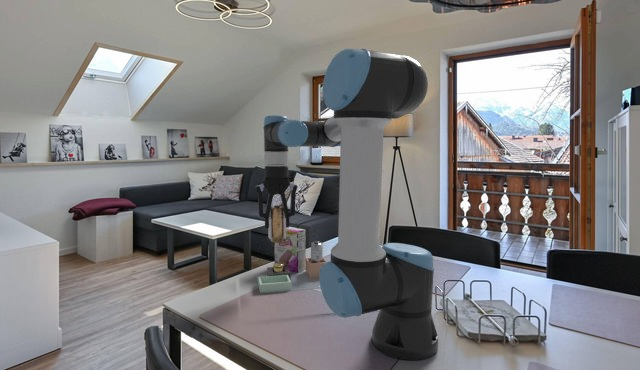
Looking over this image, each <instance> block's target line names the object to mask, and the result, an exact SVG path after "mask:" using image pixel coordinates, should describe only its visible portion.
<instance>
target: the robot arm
mask: <svg viewBox="0 0 640 370" xmlns="http://www.w3.org/2000/svg"><path fill="white" fill-rule="evenodd" d="M428 80H429V79H428V76H427V73H426V71H425V70H424V68H423V66H422V65H421V64H420V63H419V62H418V61H417V60H416V59H414V58H412V57H410V56H408V55H402V54H393V53H388V52H381V51H376V50H375V51H374V50H369V49H366V48H346V49H342V50H340V51H339V52H338V53H336V55H334V57H332V59H331V60H330V63H329V64H328V65H327V67H326V71H325V74H324V78H323V81H322V98H323V100H324V104H325V106H326V107H327V108H328V109H329V110H331V111H333V115H332V116H330V117H329V118H327V119H325V120H324V121H313V120H311V121H309V120H299V119H288V117H287V116H286V115H266V116H265V117H264V118H263V120H264V121H263V127H262V128H263V140H264V141H263V144H264V145H263V148H264V149H263V151H264V152H263V153H264V160H263V161H264V162H263V163H264V165H265V166H264V180H263V183H261V184H259V185H255V189H256V191H257V203H258V215H259V217H260V218H264V227H265V229H267V230H268V233H267V234H268V235H267V236H268V239H269V240H271V239H272V233H271V207H272V203H273V198H274V196H275V195H278V196H280V200H281V205H282V207H283V215H284V216H283V238H286V227H290V217H293V216H295V215H296V197H297V195H296V193H297V190H298V188H299V187H298V185H297V184H293V183H291V182H290V179H289V166H288V164H289V148H296V147H300V148H301V147H304V148H305V147H324V148H325V147H327V148H329V147H331V148H335V147H340V149H339V151H340V154H339V188H338V189H339V191H338V194H339V196H338V198H339V199H338V229H337V230H338V231H337V232H338V234H337V235H338V237H337V243H336V244H335V245H334V246H332V248H331V249H330V261H327V262H326V263H324V264H323V265H322V266H321V268H320V272H319V281H320V287H321V288H320V290H321V294H322V296H323V298H324V301H325V303H326V304H327V307H329V309H330V311H332V313H333V314H334V315H336V316H337V317H339V318H344V319H346V318H347V319H348V318H351V317H361V315H364V314H369V313H373V312H376V311H378V314H377V317H376V319H375V322H374V324H373V327H372V331H371V335H372V337H371V339H372V340H371V341H372V344H373V346H374V347H375V348H376V349H377V350H379V352H381V353H383V354H385V355H387V356H390V357H392V358H394V359H399V360H406V361H419V360H418V359H420V360H425V359H428V358H430V357H433V356H434V355H435V354H436V353H437V351H438V348H439V336H438V331H437V328H436V324H435V322H434V317H433V314H432V308H433V307H432V306H433V291H434V290H433V288H434V272H435V268H434V257H433V254H432V252H430V251H429V250H427V249H425V248H423V247H421V246H417V245H413V244H406V243H400V242H388V243H384V244H383V245H382V246H381V245H380V232H381V231H380V228H381V207H382V206H381V205H382V204H381V203H382V202H381V201H382V179H383V178H382V175H383V154H384V153H383V152H384V132H385V131H384V130H385V128H386V127H387V126H388V125H389V124H390V123H391V122H392V120H396V119H399V118H402V117H404V116H406V115H409V114H410V113H412V112H414V111H415V110H416V109H418V108H419V107H420V106H421V105H422V103H423V102H424V100H425V98H426V96H427V93H428V86H429V82H428ZM288 188H289V191H290V203H289V204H290V205H289V208H290V209H289V208H288V202H287V198H286V194H285V193H286V191H287V190H288ZM264 189H265V190H266V191H267V193H268V196H267V200H266V207H265V210H264V205H263V193H262V192H263V191H264Z"/></svg>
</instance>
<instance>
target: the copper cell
mask: <svg viewBox="0 0 640 370" xmlns="http://www.w3.org/2000/svg"><path fill="white" fill-rule="evenodd" d="M270 217H271V233H272V239H270V242H271V243H280V242H283V217H284V209H283V206H280V205H279V204H277V205H276V204H275V205H273V206H271V209H270Z"/></svg>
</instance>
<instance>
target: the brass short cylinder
mask: <svg viewBox="0 0 640 370" xmlns="http://www.w3.org/2000/svg"><path fill="white" fill-rule="evenodd" d="M283 266H284V263H281V262H277V263H273V264H272V267H274V272H283Z"/></svg>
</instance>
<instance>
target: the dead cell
mask: <svg viewBox="0 0 640 370" xmlns="http://www.w3.org/2000/svg"><path fill="white" fill-rule="evenodd" d="M323 246H324V245H323V242H321V241H318V240H315V241H313V242H311V243H310V258H311V263H322V257H323V253H324V252H323V249H324V248H323Z"/></svg>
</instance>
